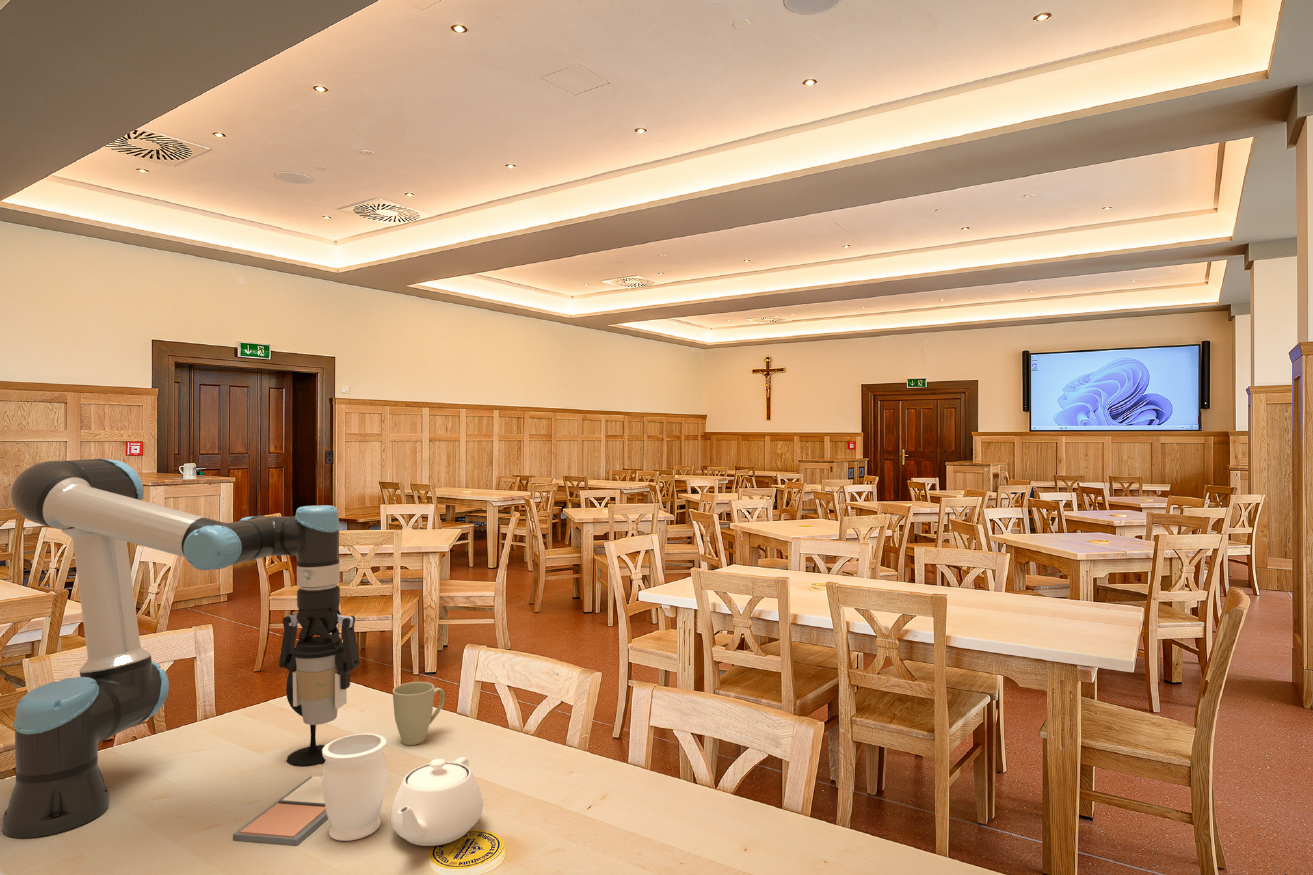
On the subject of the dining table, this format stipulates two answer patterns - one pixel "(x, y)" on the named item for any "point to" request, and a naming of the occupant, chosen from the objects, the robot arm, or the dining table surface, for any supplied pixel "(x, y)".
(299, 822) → the makeup palette
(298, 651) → the coffee cup
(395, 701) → the mug
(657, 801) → the dining table surface
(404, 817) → the teapot
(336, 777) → the jar
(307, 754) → the wine glass
